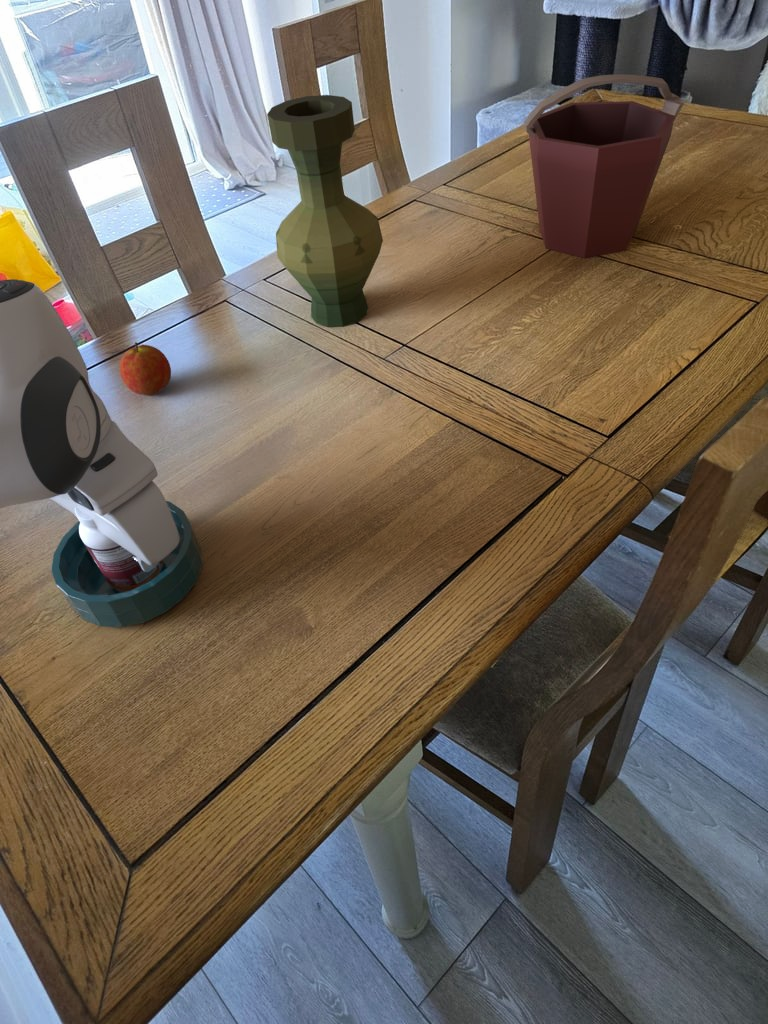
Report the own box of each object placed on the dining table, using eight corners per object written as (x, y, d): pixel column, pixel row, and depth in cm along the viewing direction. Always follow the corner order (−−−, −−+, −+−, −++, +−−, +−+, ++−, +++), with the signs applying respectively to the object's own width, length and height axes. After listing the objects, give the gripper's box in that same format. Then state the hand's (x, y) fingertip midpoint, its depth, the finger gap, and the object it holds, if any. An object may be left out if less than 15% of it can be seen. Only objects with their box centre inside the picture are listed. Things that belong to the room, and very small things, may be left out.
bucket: (658, 211, 129) (688, 54, 111) (662, 268, 114) (698, 97, 96) (524, 210, 134) (532, 60, 116) (511, 264, 120) (519, 102, 102)
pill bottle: (117, 552, 79) (78, 482, 71) (170, 550, 79) (136, 478, 71) (101, 596, 75) (57, 526, 67) (156, 593, 74) (119, 523, 66)
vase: (327, 350, 106) (291, 138, 84) (271, 314, 115) (226, 114, 94) (409, 309, 112) (395, 102, 91) (350, 277, 121) (324, 82, 100)
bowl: (152, 647, 70) (135, 618, 67) (43, 609, 75) (21, 580, 71) (228, 544, 79) (216, 513, 76) (126, 516, 84) (111, 486, 80)
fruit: (165, 406, 99) (146, 358, 94) (121, 403, 101) (100, 356, 95) (184, 378, 104) (167, 330, 98) (142, 375, 105) (123, 329, 100)
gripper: (-19, 430, 67) (43, 527, 77) (107, 512, 57) (160, 611, 67) (37, 396, 70) (90, 493, 80) (166, 468, 61) (208, 569, 71)
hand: (123, 548), depth 74 cm, fingers open, 7 cm apart
